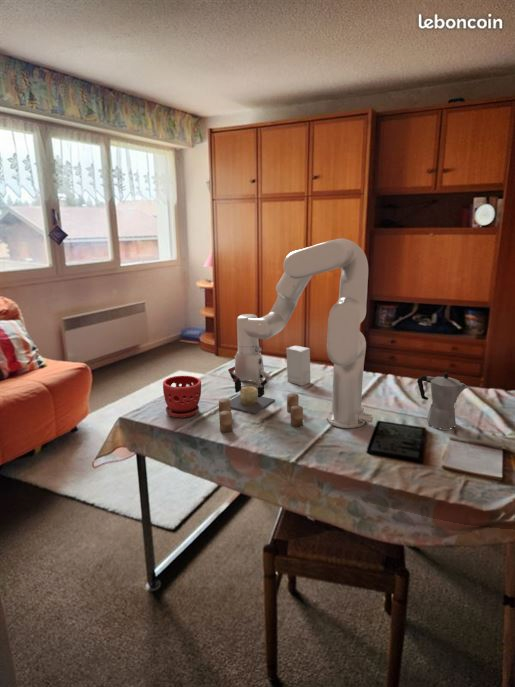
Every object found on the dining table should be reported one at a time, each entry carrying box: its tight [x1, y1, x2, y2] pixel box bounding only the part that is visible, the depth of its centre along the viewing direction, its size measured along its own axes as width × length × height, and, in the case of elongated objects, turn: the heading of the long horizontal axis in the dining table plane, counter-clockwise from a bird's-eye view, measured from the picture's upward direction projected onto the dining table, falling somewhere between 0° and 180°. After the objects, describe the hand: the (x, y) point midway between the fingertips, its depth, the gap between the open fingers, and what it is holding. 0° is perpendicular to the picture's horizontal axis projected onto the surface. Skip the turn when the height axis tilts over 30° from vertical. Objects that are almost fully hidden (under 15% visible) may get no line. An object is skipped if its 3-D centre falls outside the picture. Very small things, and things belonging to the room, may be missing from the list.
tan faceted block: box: [239, 386, 258, 405], centre depth 168 cm, size 6×6×5 cm
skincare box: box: [285, 345, 311, 387], centre depth 187 cm, size 8×6×15 cm
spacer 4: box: [290, 405, 304, 428], centre depth 151 cm, size 4×4×6 cm
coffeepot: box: [416, 372, 468, 429], centre depth 149 cm, size 15×9×18 cm, turn 54°
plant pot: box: [162, 375, 202, 419], centre depth 160 cm, size 13×13×12 cm
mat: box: [229, 394, 276, 415], centre depth 168 cm, size 14×14×1 cm
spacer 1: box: [218, 398, 232, 419], centre depth 157 cm, size 4×4×6 cm
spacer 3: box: [286, 392, 300, 414], centre depth 161 cm, size 4×4×6 cm
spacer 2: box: [218, 411, 233, 434], centre depth 147 cm, size 4×4×6 cm
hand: (249, 393), depth 167 cm, fingers open, 9 cm apart
